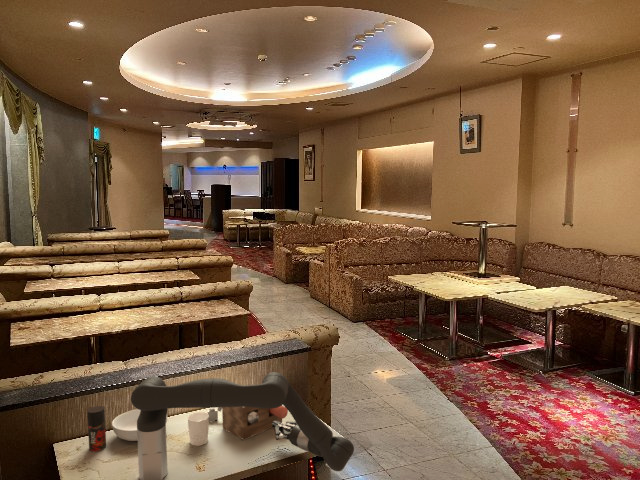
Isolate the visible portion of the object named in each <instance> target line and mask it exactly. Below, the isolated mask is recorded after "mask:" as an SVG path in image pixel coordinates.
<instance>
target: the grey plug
mask: <svg viewBox="0 0 640 480" xmlns="http://www.w3.org/2000/svg"><path fill="white" fill-rule="evenodd" d="M258 419H259V415H258V413H256V412H254V411H251V412H249V413H247V422H249V423H251V424H255V423H256V422H257V421H258Z"/></svg>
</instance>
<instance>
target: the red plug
mask: <svg viewBox="0 0 640 480" xmlns="http://www.w3.org/2000/svg"><path fill="white" fill-rule="evenodd" d="M288 412H289V411H288V410H287V408H286V407H285V406H284V405H282V406H280V407H278V408H273V409H269V413H271V414H273V415H275V416H277V417H280V418H282V420H283V419H286V417H287V416H288Z"/></svg>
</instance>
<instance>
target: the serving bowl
mask: <svg viewBox="0 0 640 480" xmlns="http://www.w3.org/2000/svg"><path fill="white" fill-rule="evenodd" d="M140 411H141V410H139V409H137V408H136V409H132V410H131V409H130V410H129V411H126V412H123V413H121V414H119V415H117V416H116V417H115V418H114V419H113V420H112V422H111V427H112V430H113V432H114V434H115V435H116V436H117V437H118V438H119V439H122V440H124V441H131V442H133V441H137V442H138V439H137V419H138V417H139V415H140ZM167 421H168V414H167V417H166V423H167Z"/></svg>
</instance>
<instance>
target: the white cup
mask: <svg viewBox="0 0 640 480" xmlns="http://www.w3.org/2000/svg"><path fill="white" fill-rule="evenodd" d="M187 428H188V436H189V443H190V445H192V446H196V447H197V446H203V445H205V444H207V443H208V442H209V428H210V427H209V415H208V412H204V411H203V412H201V411H200V412H195V413H194V412H193V413H191V414H190V415H188V416H187Z"/></svg>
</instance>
